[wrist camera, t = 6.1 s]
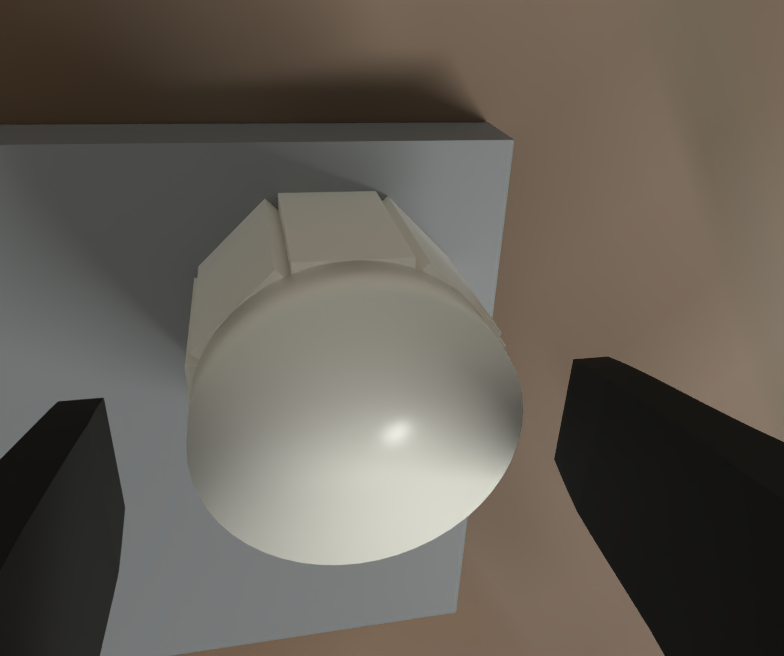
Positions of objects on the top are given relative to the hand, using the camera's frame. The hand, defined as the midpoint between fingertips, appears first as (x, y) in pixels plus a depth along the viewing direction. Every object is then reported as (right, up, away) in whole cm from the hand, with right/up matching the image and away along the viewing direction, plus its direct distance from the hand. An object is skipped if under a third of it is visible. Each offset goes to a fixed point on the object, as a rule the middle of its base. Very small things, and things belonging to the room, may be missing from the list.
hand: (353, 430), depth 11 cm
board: (-4, 0, +5) cm, 7 cm away
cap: (-1, +2, +3) cm, 4 cm away
